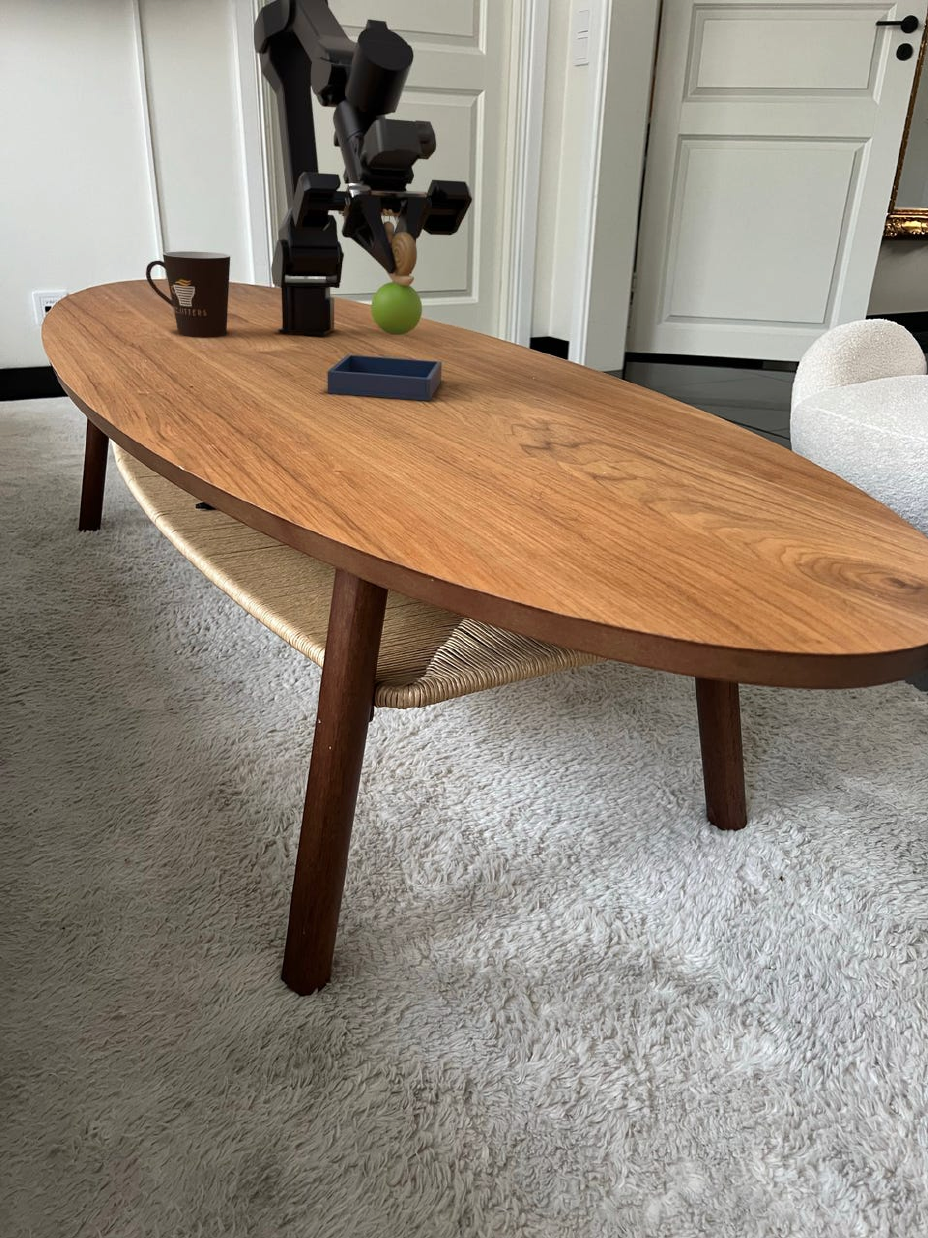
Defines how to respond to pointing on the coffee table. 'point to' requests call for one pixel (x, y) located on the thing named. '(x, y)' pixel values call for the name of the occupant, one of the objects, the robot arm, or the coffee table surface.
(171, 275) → the coffee mug
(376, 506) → the coffee table surface
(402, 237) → the snail figurine
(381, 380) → the blue tray
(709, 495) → the coffee table surface
